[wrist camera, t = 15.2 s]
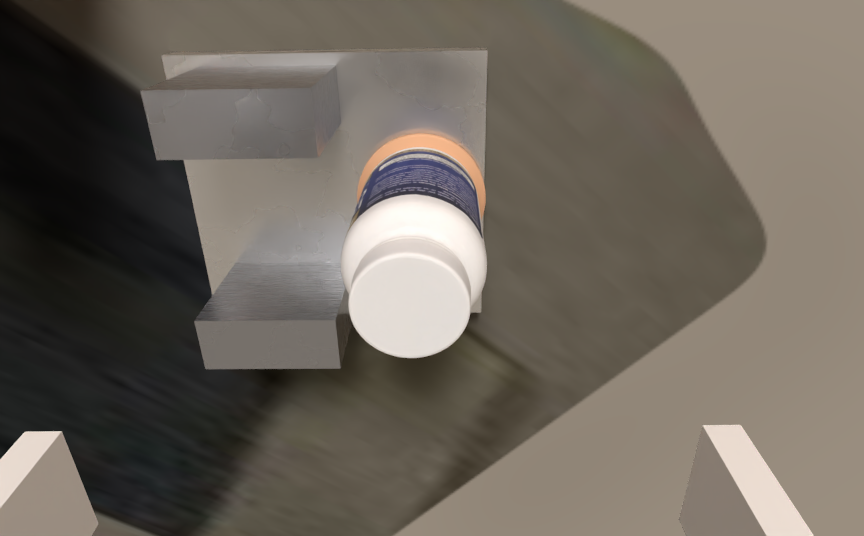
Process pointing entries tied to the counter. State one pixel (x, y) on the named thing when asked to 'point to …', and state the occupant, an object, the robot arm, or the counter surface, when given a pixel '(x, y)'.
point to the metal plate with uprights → (296, 177)
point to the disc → (428, 142)
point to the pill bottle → (414, 254)
